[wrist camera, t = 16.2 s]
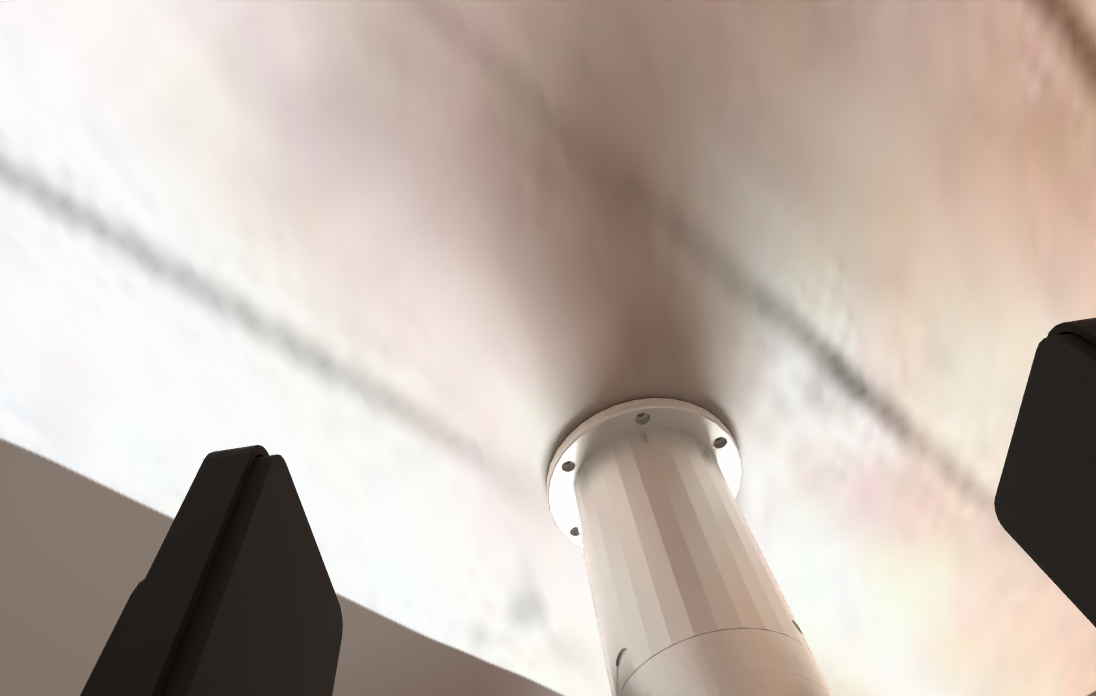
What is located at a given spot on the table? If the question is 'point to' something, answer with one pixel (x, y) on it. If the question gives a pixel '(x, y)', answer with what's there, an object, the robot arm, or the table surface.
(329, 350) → the table surface
